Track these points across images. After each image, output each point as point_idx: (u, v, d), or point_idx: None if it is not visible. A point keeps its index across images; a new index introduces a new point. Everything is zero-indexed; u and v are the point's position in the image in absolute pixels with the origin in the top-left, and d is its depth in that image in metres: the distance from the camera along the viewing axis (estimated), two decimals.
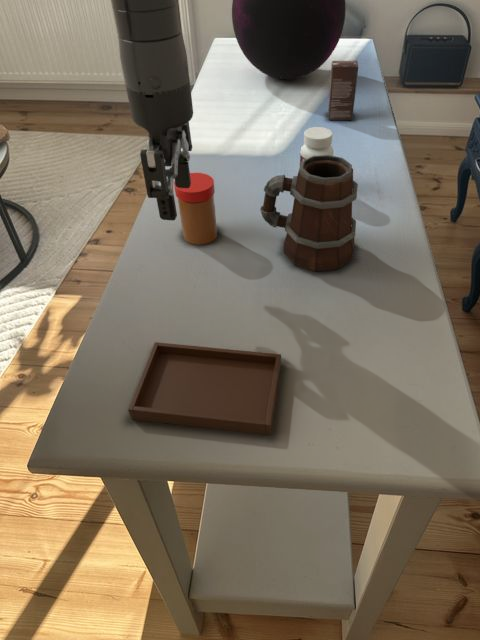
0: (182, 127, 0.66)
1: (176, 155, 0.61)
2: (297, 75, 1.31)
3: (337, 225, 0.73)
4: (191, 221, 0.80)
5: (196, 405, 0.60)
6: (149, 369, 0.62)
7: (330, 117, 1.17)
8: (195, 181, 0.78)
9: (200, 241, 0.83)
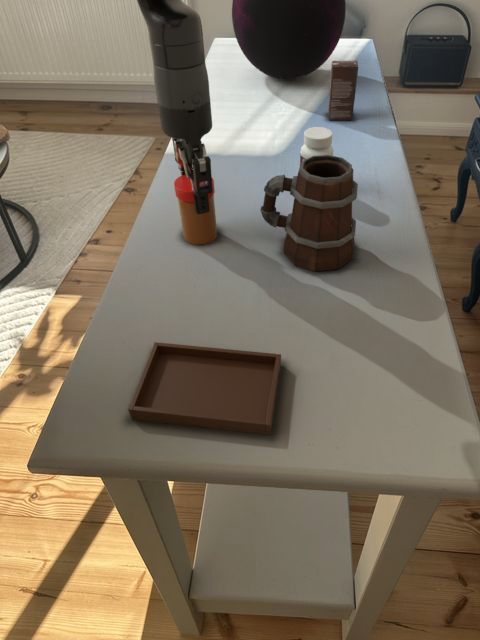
0: None
1: (205, 157, 0.74)
2: (297, 75, 1.31)
3: (337, 225, 0.73)
4: (191, 221, 0.80)
5: (196, 405, 0.60)
6: (149, 369, 0.62)
7: (330, 117, 1.17)
8: None
9: (200, 241, 0.83)
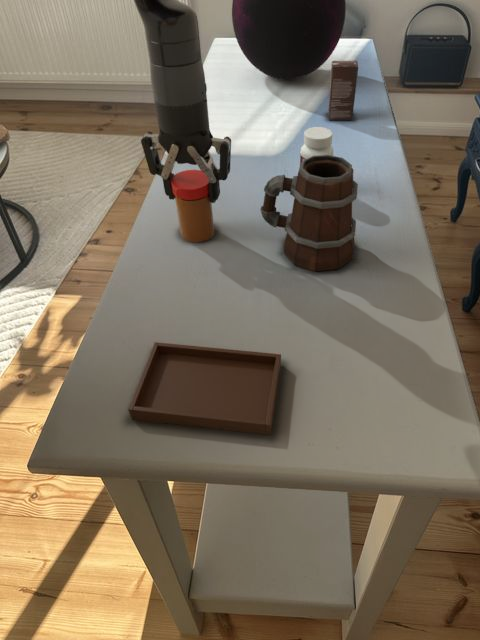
0: None
1: None
2: (297, 75, 1.31)
3: (337, 225, 0.73)
4: (191, 219, 0.81)
5: (196, 405, 0.60)
6: (149, 369, 0.62)
7: (330, 117, 1.17)
8: (190, 178, 0.79)
9: (200, 238, 0.84)
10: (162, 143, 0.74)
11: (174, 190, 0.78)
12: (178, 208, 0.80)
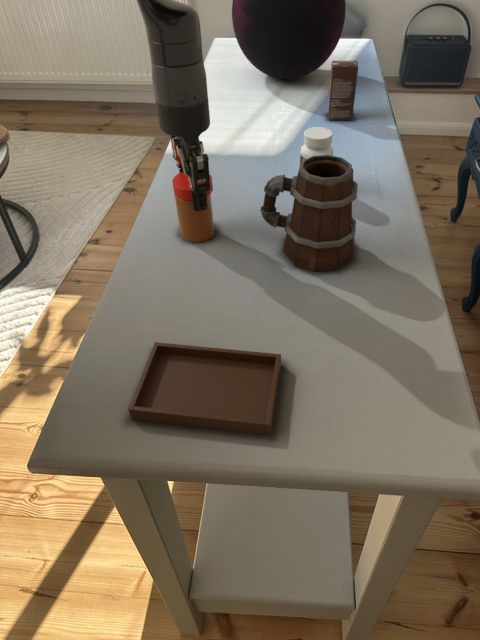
0: None
1: None
2: (297, 75, 1.31)
3: (337, 225, 0.73)
4: (191, 218, 0.81)
5: (196, 405, 0.60)
6: (149, 369, 0.62)
7: (330, 117, 1.17)
8: None
9: (200, 238, 0.84)
10: (200, 150, 0.72)
11: (210, 188, 0.78)
12: (178, 208, 0.80)
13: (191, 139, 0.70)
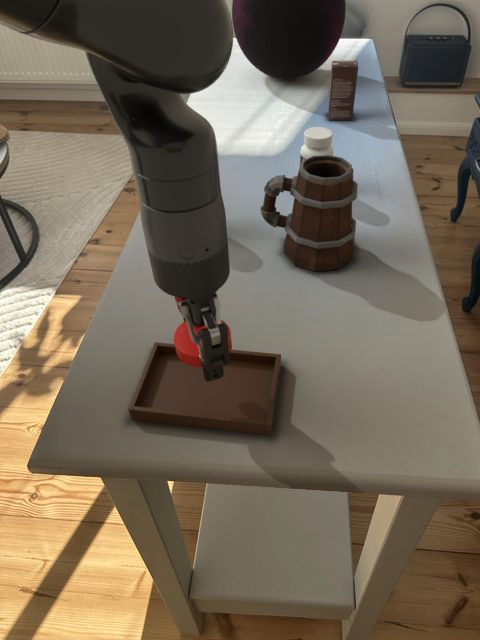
0: None
1: None
2: (297, 75, 1.31)
3: (337, 225, 0.73)
4: None
5: (196, 405, 0.60)
6: (149, 369, 0.62)
7: (330, 117, 1.17)
8: None
9: None
10: None
11: None
12: None
13: (201, 301, 0.46)
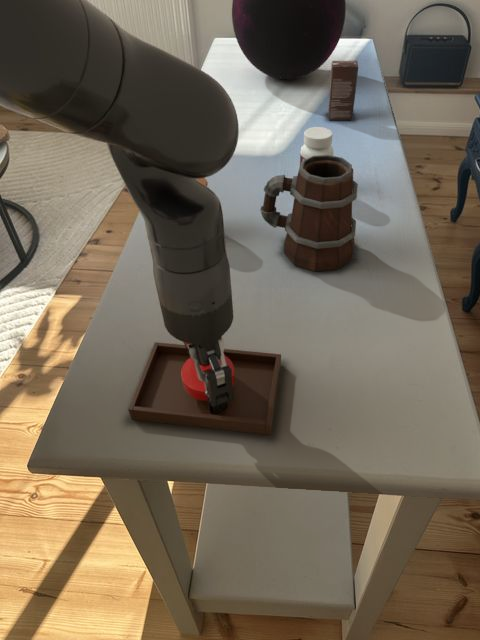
0: None
1: None
2: (297, 75, 1.31)
3: (337, 225, 0.73)
4: None
5: (196, 405, 0.60)
6: (149, 369, 0.62)
7: (330, 117, 1.17)
8: None
9: None
10: None
11: (232, 382, 0.59)
12: None
13: (208, 346, 0.50)
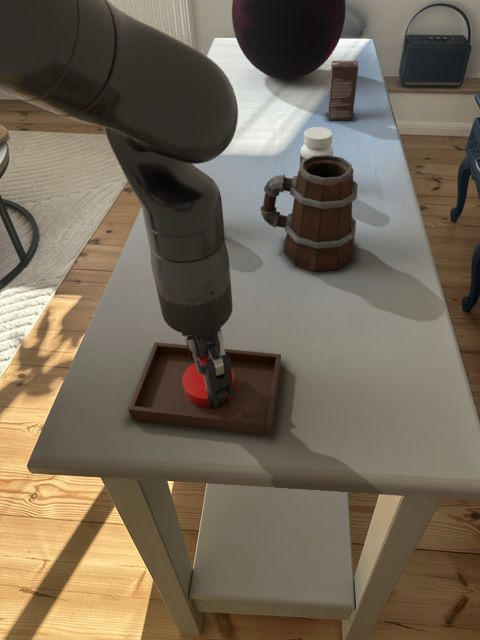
0: None
1: None
2: (297, 75, 1.31)
3: (337, 225, 0.73)
4: None
5: (196, 405, 0.60)
6: (149, 369, 0.62)
7: (330, 117, 1.17)
8: None
9: None
10: None
11: None
12: None
13: (207, 337, 0.50)
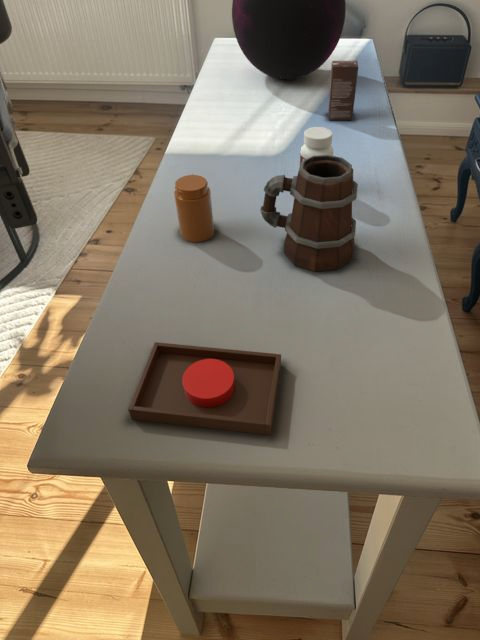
0: None
1: None
2: (297, 75, 1.31)
3: (337, 225, 0.73)
4: (191, 218, 0.81)
5: (196, 405, 0.60)
6: (149, 369, 0.62)
7: (330, 117, 1.17)
8: (206, 379, 0.60)
9: (200, 238, 0.84)
10: None
11: (232, 389, 0.60)
12: (178, 208, 0.81)
13: None
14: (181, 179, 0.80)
